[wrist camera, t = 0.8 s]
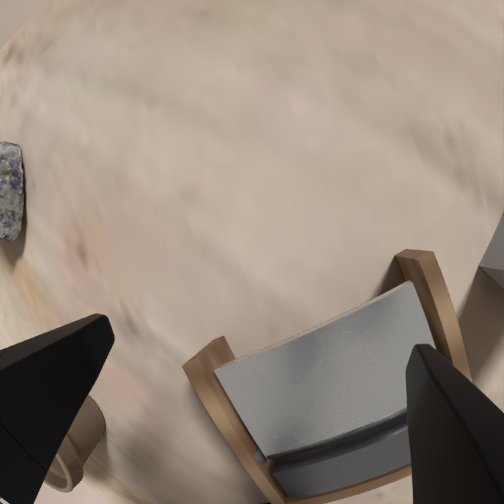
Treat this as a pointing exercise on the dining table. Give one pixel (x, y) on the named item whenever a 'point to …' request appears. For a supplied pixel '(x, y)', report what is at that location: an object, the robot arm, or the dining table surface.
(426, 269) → the trap frame
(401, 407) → the trapdoor
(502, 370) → the dining table surface
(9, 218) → the mineral rock
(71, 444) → the flower pot
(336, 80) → the dining table surface
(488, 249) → the grey rectangular block
